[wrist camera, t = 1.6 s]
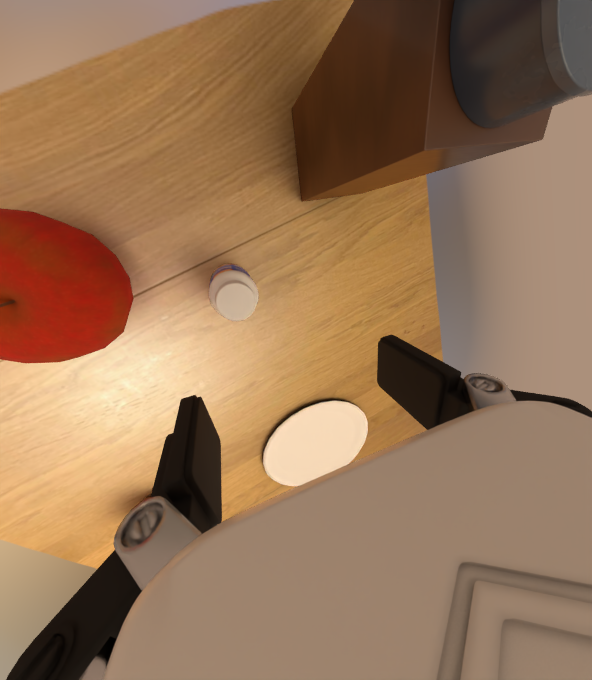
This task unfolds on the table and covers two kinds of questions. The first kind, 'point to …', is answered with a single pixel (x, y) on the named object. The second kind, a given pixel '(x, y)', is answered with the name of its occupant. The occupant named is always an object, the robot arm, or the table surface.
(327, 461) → the plate
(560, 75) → the tin
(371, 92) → the stand
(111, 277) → the apple
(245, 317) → the pill bottle
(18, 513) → the table surface
